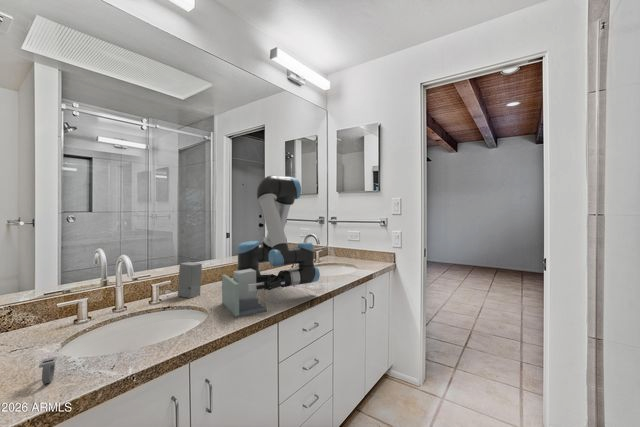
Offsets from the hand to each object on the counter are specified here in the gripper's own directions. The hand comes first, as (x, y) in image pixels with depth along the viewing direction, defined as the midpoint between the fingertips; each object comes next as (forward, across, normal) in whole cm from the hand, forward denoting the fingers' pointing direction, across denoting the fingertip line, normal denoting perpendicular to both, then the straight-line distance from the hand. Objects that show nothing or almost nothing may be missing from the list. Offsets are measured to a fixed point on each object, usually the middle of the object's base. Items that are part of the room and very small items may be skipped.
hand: (242, 284), depth 119 cm
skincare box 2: (-1, 0, -9) cm, 9 cm away
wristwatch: (+55, -26, -10) cm, 62 cm away
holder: (-1, 0, -10) cm, 10 cm away
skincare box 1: (+16, +31, -10) cm, 36 cm away
